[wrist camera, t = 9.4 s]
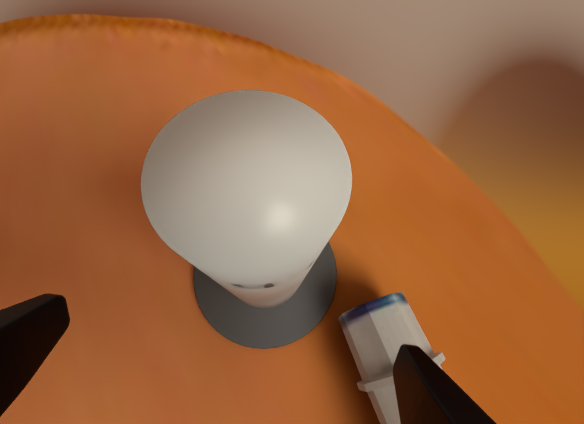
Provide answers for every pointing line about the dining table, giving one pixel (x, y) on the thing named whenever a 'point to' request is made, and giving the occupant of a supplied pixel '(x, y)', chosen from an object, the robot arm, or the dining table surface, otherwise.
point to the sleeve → (248, 190)
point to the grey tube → (383, 347)
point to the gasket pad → (274, 321)
